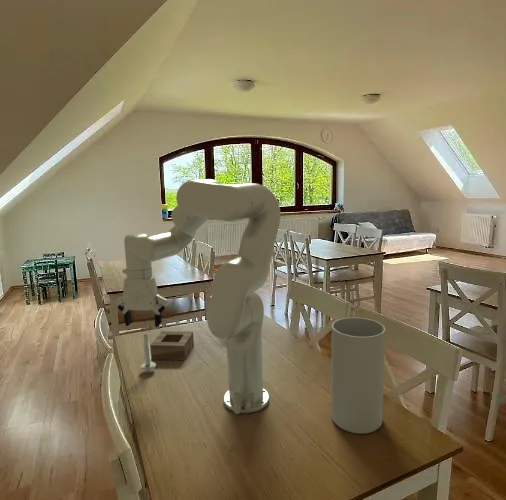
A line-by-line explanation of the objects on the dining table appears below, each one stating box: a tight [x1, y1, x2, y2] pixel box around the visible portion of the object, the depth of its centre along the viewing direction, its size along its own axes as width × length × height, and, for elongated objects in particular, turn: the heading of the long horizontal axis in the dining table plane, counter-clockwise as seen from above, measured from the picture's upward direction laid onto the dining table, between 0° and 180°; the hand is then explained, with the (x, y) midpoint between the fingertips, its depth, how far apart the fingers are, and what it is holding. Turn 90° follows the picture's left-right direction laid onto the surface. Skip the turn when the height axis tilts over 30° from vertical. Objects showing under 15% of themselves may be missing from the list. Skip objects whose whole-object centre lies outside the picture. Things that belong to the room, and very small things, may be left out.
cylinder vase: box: [330, 316, 386, 435], centre depth 96 cm, size 12×12×25 cm
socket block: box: [149, 330, 195, 361], centre depth 139 cm, size 12×12×6 cm
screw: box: [140, 333, 157, 374], centre depth 125 cm, size 13×5×5 cm
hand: (143, 324), depth 123 cm, fingers open, 9 cm apart
